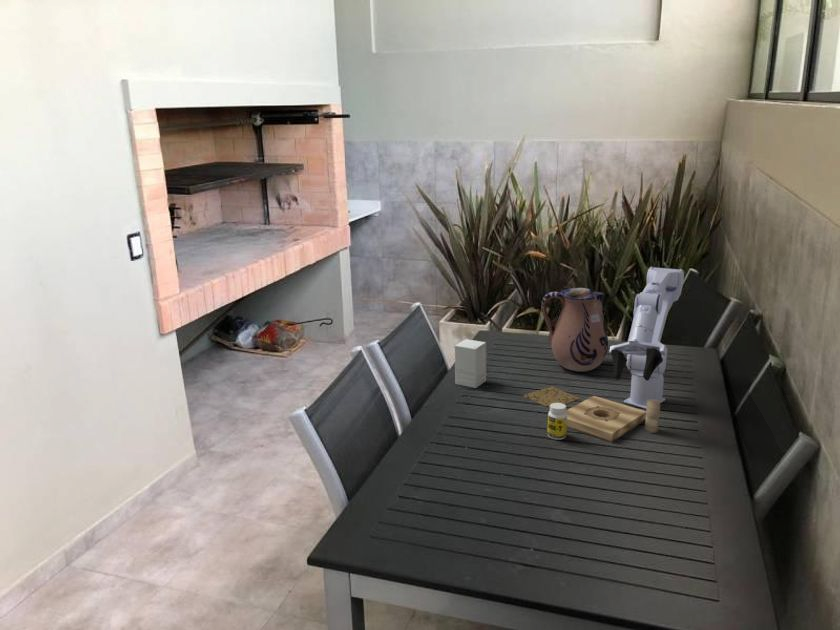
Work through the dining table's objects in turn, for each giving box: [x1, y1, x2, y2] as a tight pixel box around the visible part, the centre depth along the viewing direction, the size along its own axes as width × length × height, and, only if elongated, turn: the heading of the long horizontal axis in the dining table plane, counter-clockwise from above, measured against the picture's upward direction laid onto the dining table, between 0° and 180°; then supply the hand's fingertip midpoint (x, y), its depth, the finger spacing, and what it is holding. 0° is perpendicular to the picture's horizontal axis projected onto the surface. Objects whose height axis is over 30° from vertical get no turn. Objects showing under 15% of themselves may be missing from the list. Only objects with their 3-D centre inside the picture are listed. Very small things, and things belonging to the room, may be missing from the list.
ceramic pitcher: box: [541, 287, 609, 373], centre depth 218 cm, size 18×21×25 cm
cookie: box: [523, 386, 581, 409], centre depth 198 cm, size 12×12×1 cm
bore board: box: [566, 395, 646, 443], centre depth 181 cm, size 18×16×2 cm
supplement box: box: [454, 338, 487, 389], centre depth 209 cm, size 7×7×13 cm
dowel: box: [644, 399, 661, 434], centre depth 175 cm, size 3×3×8 cm
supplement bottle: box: [546, 403, 568, 441], centre depth 173 cm, size 5×5×8 cm
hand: (631, 378), depth 172 cm, fingers open, 7 cm apart
